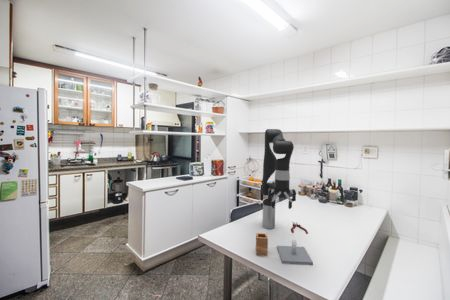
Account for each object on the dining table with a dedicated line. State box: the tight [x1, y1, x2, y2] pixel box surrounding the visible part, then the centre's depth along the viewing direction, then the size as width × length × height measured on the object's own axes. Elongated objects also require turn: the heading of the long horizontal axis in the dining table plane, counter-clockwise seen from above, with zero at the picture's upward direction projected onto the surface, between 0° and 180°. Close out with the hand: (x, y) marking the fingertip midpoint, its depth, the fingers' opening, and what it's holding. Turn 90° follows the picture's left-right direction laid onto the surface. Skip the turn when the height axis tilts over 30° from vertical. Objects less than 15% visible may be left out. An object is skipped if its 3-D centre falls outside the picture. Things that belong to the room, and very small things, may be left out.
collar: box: [255, 232, 269, 256], centre depth 124 cm, size 6×6×10 cm
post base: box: [276, 239, 314, 266], centre depth 120 cm, size 16×16×8 cm
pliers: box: [290, 221, 309, 235], centre depth 159 cm, size 12×20×3 cm, turn 173°
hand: (281, 208), depth 114 cm, fingers open, 8 cm apart
